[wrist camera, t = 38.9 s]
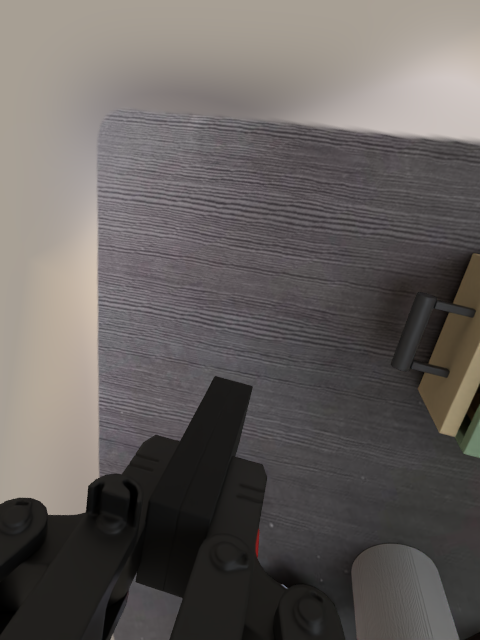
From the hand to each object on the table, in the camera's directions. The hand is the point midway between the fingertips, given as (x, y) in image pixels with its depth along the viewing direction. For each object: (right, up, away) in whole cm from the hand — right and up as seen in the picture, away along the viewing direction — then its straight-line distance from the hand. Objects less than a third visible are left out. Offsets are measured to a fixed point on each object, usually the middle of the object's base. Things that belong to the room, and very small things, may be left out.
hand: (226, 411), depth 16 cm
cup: (+18, -25, +29) cm, 42 cm away
